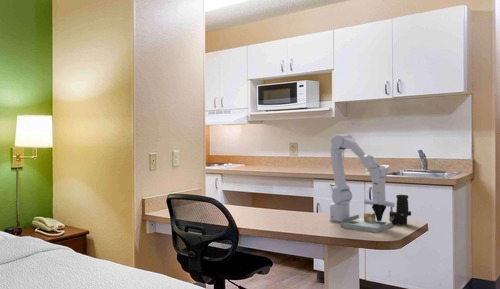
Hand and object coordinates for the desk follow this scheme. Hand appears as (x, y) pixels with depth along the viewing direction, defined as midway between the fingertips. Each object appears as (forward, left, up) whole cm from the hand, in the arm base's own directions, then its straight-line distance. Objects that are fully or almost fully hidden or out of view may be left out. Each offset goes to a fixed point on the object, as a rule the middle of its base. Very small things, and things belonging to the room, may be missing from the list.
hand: (379, 220), depth 194 cm
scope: (+5, +12, -3) cm, 13 cm away
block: (-5, 0, -1) cm, 5 cm away
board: (-5, -3, -3) cm, 7 cm away
